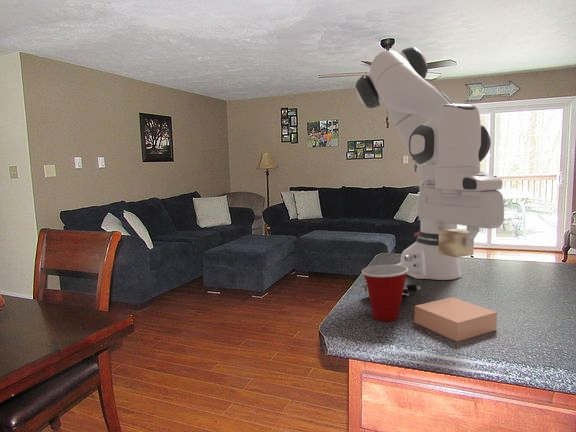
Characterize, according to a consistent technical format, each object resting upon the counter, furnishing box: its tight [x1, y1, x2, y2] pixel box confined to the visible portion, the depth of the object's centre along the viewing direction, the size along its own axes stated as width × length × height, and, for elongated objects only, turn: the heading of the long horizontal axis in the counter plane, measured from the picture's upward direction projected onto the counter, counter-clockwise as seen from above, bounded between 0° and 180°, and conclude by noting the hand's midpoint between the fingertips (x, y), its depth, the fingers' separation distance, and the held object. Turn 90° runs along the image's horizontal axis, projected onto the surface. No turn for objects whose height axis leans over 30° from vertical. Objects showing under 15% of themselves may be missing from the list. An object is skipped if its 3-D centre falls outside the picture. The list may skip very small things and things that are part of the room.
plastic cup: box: [361, 264, 408, 322], centre depth 98 cm, size 11×11×12 cm
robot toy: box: [359, 281, 421, 300], centre depth 113 cm, size 12×4×15 cm
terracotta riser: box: [414, 296, 498, 342], centre depth 92 cm, size 12×12×4 cm
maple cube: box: [438, 228, 474, 258], centre depth 90 cm, size 5×5×5 cm
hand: (455, 244), depth 90 cm, fingers closed on maple cube, 5 cm apart
